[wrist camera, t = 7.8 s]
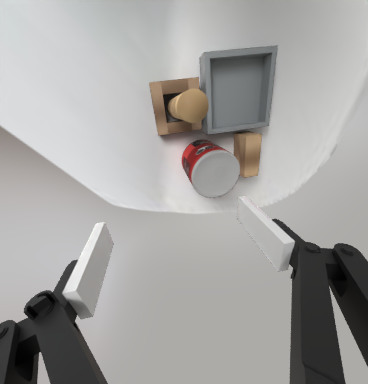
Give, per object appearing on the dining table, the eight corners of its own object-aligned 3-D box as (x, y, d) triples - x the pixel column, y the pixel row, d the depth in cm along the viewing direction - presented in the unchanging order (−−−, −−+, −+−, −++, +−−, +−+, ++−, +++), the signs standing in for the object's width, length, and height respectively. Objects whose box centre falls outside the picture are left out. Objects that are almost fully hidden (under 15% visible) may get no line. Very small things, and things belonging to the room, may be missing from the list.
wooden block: (234, 133, 35) (246, 136, 30) (248, 131, 35) (261, 134, 30) (233, 169, 38) (244, 177, 34) (245, 167, 39) (257, 175, 34)
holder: (149, 84, 28) (149, 82, 26) (195, 79, 29) (198, 77, 27) (157, 133, 32) (158, 135, 30) (198, 128, 33) (201, 129, 31)
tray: (199, 57, 28) (204, 52, 25) (266, 51, 29) (277, 45, 27) (203, 132, 33) (208, 134, 31) (259, 124, 35) (268, 125, 32)
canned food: (223, 149, 36) (250, 164, 26) (204, 180, 38) (222, 205, 28) (193, 131, 33) (210, 140, 23) (174, 166, 36) (183, 188, 26)
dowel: (165, 99, 30) (176, 90, 17) (183, 96, 30) (208, 86, 17) (168, 118, 31) (180, 124, 18) (185, 116, 32) (209, 120, 18)
